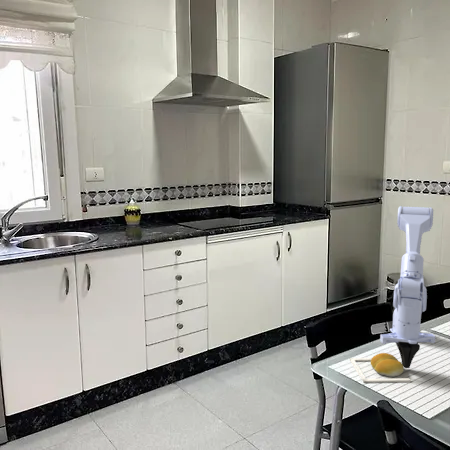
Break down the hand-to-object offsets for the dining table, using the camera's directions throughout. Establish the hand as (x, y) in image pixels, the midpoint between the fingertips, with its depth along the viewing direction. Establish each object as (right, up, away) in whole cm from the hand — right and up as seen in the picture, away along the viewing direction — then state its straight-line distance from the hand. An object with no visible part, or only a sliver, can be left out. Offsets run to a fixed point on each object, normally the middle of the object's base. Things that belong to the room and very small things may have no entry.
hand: (405, 366), depth 126 cm
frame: (-8, -1, 0) cm, 8 cm away
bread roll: (-5, -1, +1) cm, 5 cm away
